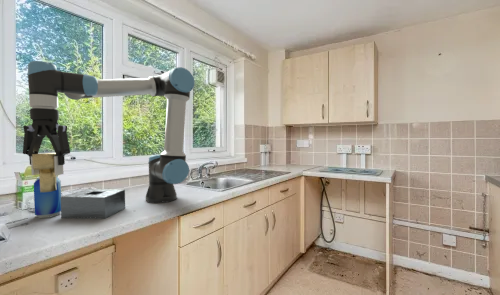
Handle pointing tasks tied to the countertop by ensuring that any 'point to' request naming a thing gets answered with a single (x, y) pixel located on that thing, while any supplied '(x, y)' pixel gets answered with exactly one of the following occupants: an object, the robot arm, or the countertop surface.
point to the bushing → (45, 170)
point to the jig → (92, 203)
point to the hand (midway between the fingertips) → (47, 174)
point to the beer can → (47, 200)
